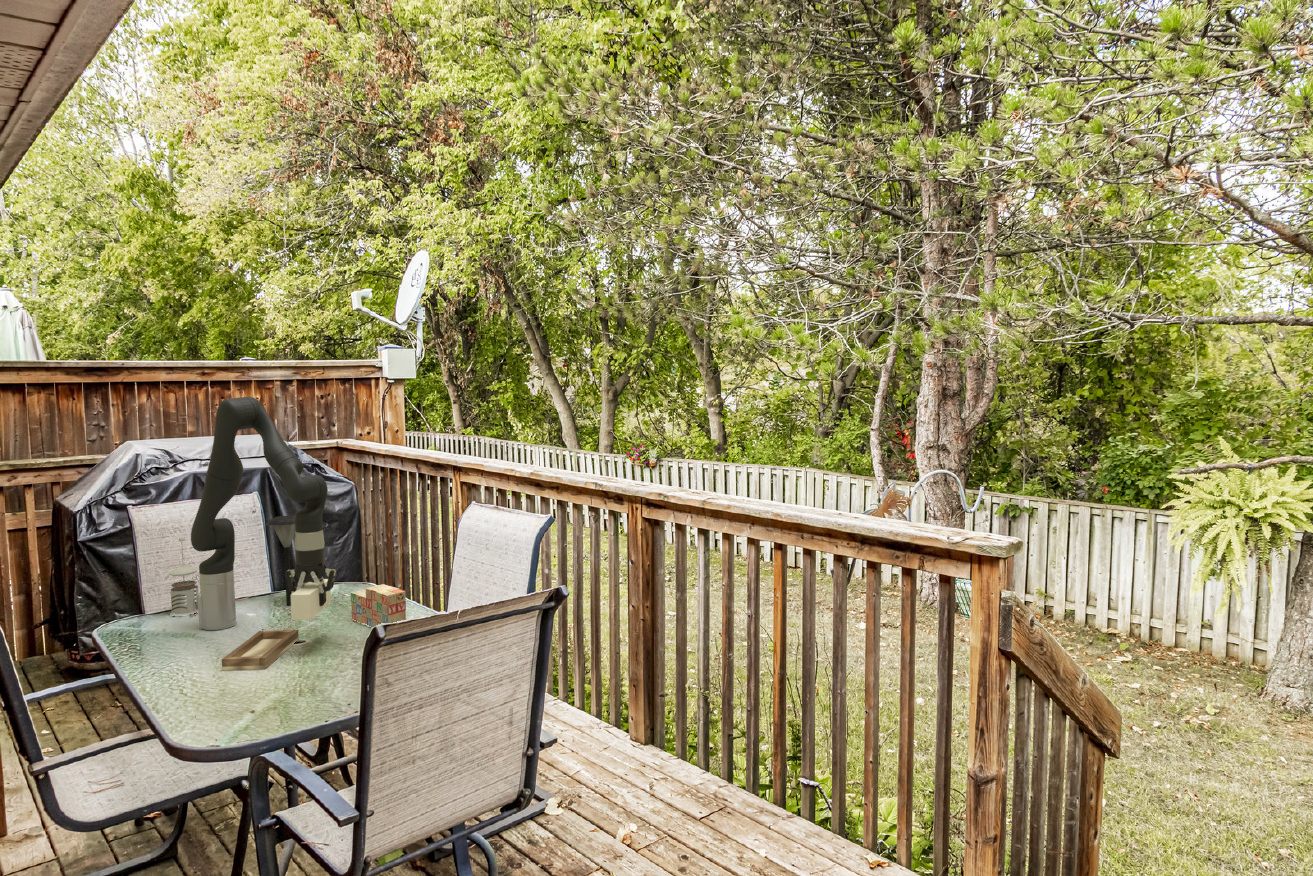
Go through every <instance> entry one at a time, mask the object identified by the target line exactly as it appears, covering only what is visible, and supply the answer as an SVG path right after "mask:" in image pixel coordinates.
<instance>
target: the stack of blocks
mask: <svg viewBox="0 0 1313 876" xmlns="http://www.w3.org/2000/svg"><path fill="white" fill-rule="evenodd" d="M406 596H407V595H406V590H403V589H400V588H398V587H394V586H391V585H387V584H384V583H383V584H378V585H372V586H370V587H366V588H365V589H364V588H363V589H361V590H356V591H352V592H350V602H351V619H354V620H356V621H358V622H360V623H365V624H367V625H369V626H371V627H374V626H376V625H378V624H381V623H393V622H397V621H401V620H406V619H407V618H406V616H407V611H406V610H407V602H406V599H407V598H406ZM406 621H407V620H406Z"/></svg>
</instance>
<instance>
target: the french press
mask: <svg viewBox="0 0 1313 876" xmlns="http://www.w3.org/2000/svg"><path fill="white" fill-rule="evenodd" d="M177 539H178V542H181V544H183V542H185V541H186V538H185V537H184V536H181V537H179V538H177ZM181 557H182V558H181V559H182V560H181V561H182V563H184V551H183V547H181ZM198 571H199V568H196V567H194V566H188V565H187V566H185V565H181V566H179V567H176V568H174V569H172V570H170V571H169V572H168V574H169V576H173V577H179V576H181V577H182V576H183V581H176V582H173V583H172V584H171V587H172V588H171V589H170V602H171V603H170V604H171V608H170V609H171V611H172V613H175V614H194V613H196V612H198V598H200V597H201V594H200V592H199V586H198V585H197V583H199V584H200V579H198V577H199V578H200V575H198V574H197V575H196V576H192V580H185V576H188V575H193V574H195V573H197V572H198ZM197 581H198V582H197ZM174 609H175V610H174Z"/></svg>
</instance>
